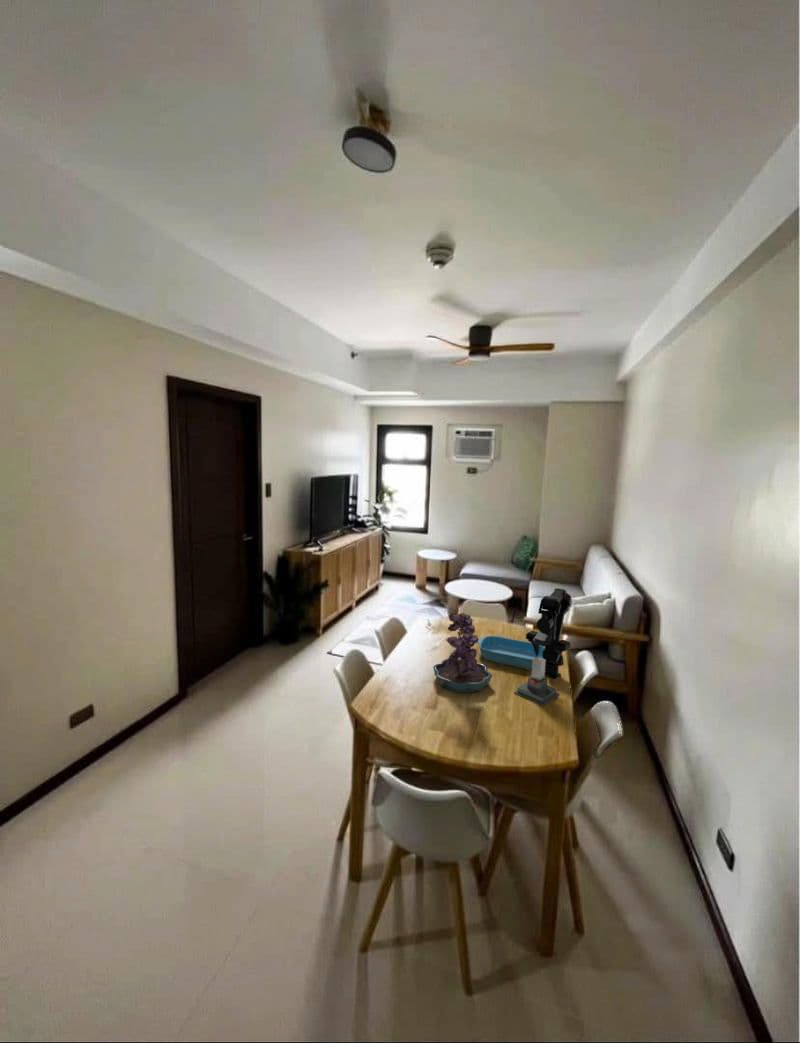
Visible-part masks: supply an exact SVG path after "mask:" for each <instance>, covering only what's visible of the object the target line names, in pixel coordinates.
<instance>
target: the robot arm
mask: <svg viewBox="0 0 800 1043" xmlns="http://www.w3.org/2000/svg"><path fill="white" fill-rule="evenodd" d="M572 602H573V600H572V595H570V594H569V593H568V592H567V590H566V589H563V588H558V587H556V588H554V589H553V592H552V593H551V594H549V595H545V596H543V597H542V598H541V600H540V604H539V608H538V612H537V613H538V614H539V615H540V616H541V617H540V618H539V619H538V620H537V622H536V628H537V630H538V631H535V630H530V631H528V632H527V633H526V634H525V640H527V642H531V643H532V645H533V647H534V650H535V654H536V656H537V655H538V652H539V645H541V646H543V647H545V649H544V650H543V653H542V658H543V659H545V660H546V661H545V675H544V676H545V677H548V678H551V679H557V678H559V677H560V676H561V675H562V674H561V672H559V669H560V668H559V667H561V666H564V656H563V653H564V652H566V651H569V649H571V642H570V641H568V640H565V639H561V637H562V632H563V626H564V620H565V615H567V613H568V612H569V611H570V608H571V607H572Z"/></svg>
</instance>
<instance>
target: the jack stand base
mask: <svg viewBox="0 0 800 1043" xmlns="http://www.w3.org/2000/svg"><path fill="white" fill-rule="evenodd" d="M513 694H515V695H517V696H520V697H522V698H525V699H527V700H529V701H531V702H534V703H536V704H538V705H541V706H547V705H548V704H549V703H550V702H552V701H553V700H554V699H555V698H556V697H558V696H559V695H560V692H557V688H555V687H553V686H551V685H548V678H547V677H545V678H544V680H543V681H541V682H538V681H536V680H533V679H531V676H529V677H528V678H527V681H526V682H524V683H522V684H521V685H520V686H518V687H517V689H516V690H515V691H514V692H513Z"/></svg>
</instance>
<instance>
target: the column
mask: <svg viewBox="0 0 800 1043" xmlns="http://www.w3.org/2000/svg"><path fill="white" fill-rule="evenodd" d="M545 661H546V660H545V659H543V658H540V657H535V658H534V659H532V669H531V673H530V674H531V675H530V677H531V679H533V680H536V681H538V682H541V681H543V680H544V678H546V675H545V671H546V662H545Z"/></svg>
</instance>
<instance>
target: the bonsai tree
mask: <svg viewBox="0 0 800 1043" xmlns="http://www.w3.org/2000/svg"><path fill="white" fill-rule="evenodd" d="M448 620H449V621H450V622H452V623H450V624H449V626H447V630H448V631H450V632H451V633H453V632H456V631H457V636H448V637H447V638H446V639H445V640H446V642H447V643H448V644H449V645H450V646H451V647H452V648H454V650H453V651H451V652H450V655H448V658H446V659H445V658H444V659H443V660H441V662H440V663H436V664H434V665H433V666H432V668H433V671H434V675H435V678H436V680H437V682H438V684H439V685H441V686H442V687H444V688H446V689H447V690H449V691H453V692H457V693H475V692H478V691H480V690H482V689H483V688H484V687H485V686H486V685H488V684H490V682H491V680H492V677H493V675H492V673H491V672H489V671H488V667H487V665H486V664H484V663H483V664H482V663H480V662H478V659H477V658H476V657H477V653H478V650H477V649H476V648H474V647H475V644H478V643H477V642H478V639H479V637H478V635H476V634H474V633H475V632H476V631H475V630H476V627H475V625H473V622H474V619H473V618H472V617H471V615H470V614H466V613H465V612H460V613H459V614H456V615H453V614H452V613H449V614H448Z"/></svg>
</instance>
